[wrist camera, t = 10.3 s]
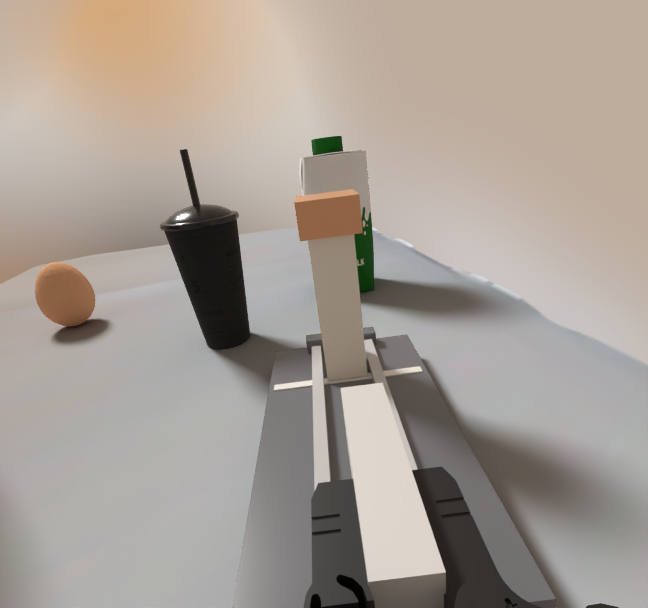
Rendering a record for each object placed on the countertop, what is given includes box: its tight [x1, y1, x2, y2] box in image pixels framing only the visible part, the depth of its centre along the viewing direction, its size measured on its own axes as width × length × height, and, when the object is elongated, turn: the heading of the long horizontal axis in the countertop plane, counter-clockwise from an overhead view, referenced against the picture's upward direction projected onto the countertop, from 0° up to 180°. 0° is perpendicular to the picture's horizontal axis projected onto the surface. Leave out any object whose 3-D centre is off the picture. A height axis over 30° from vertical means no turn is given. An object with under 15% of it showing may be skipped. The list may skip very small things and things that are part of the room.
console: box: [232, 327, 556, 608], centre depth 24 cm, size 22×12×3 cm, turn 3°
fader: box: [295, 189, 368, 381], centre depth 27 cm, size 4×4×13 cm
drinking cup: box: [160, 149, 250, 349], centre depth 39 cm, size 8×8×20 cm
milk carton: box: [300, 136, 374, 292], centre depth 51 cm, size 9×9×20 cm
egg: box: [35, 262, 95, 326], centre depth 52 cm, size 7×7×9 cm
